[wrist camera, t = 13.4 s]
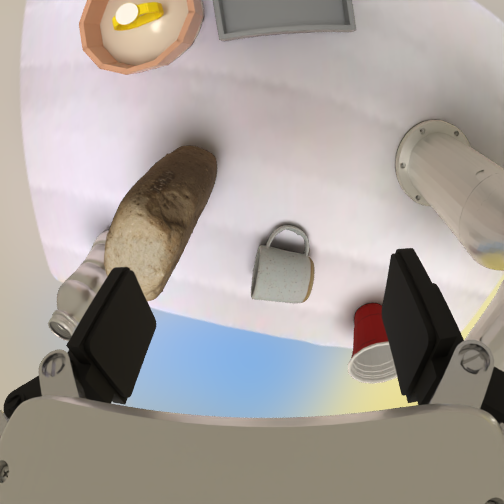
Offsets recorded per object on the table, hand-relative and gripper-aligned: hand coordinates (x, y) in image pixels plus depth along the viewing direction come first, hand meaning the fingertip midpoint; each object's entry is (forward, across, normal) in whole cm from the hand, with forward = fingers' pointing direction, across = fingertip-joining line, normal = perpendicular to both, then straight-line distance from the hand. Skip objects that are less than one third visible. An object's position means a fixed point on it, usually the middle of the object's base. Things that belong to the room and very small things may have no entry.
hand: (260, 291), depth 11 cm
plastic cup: (+31, -14, +34) cm, 48 cm away
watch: (+30, +13, -17) cm, 37 cm away
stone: (+31, +12, +6) cm, 33 cm away
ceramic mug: (+31, +1, +20) cm, 36 cm away
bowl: (+30, +14, -17) cm, 37 cm away
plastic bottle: (+31, +27, +15) cm, 43 cm away
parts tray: (+30, -3, -17) cm, 35 cm away
